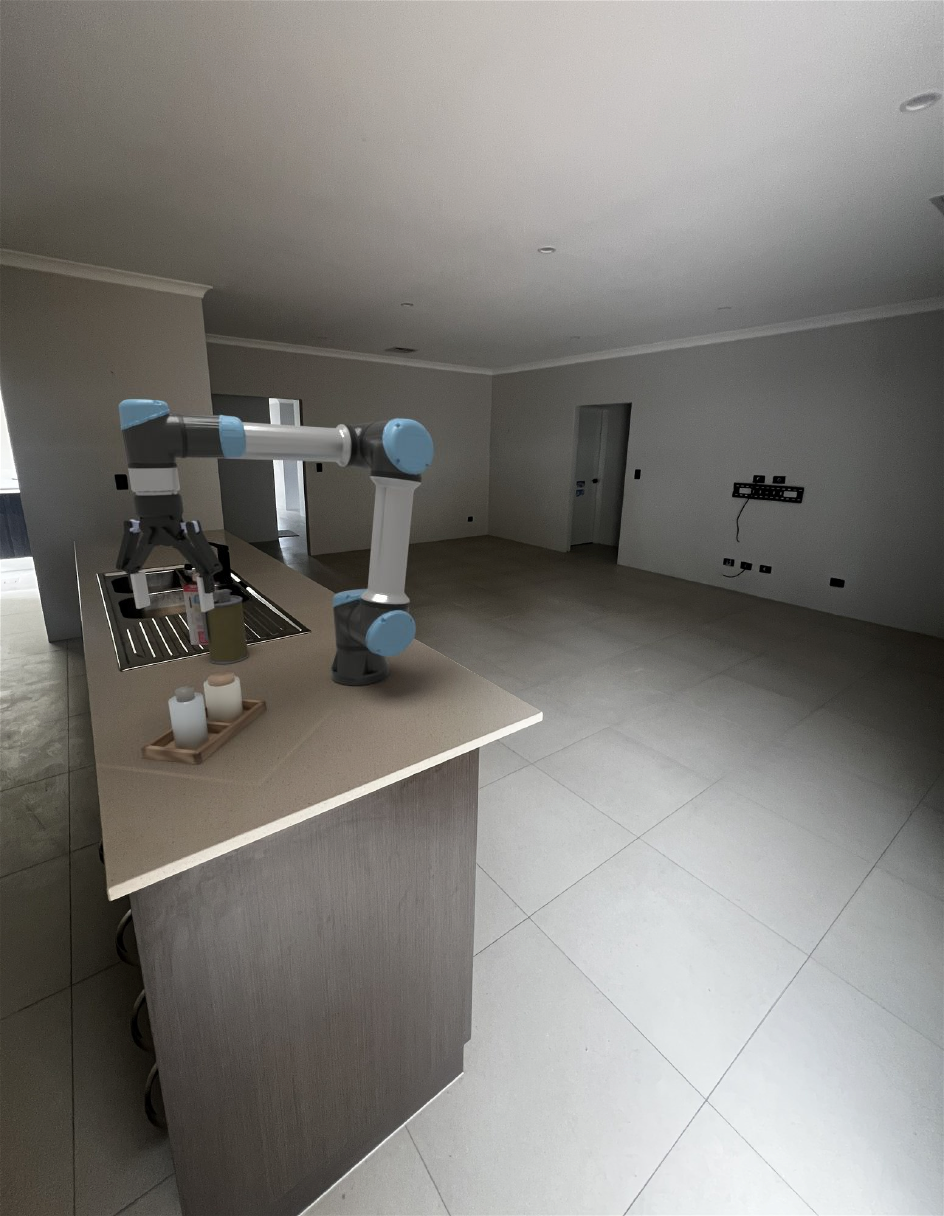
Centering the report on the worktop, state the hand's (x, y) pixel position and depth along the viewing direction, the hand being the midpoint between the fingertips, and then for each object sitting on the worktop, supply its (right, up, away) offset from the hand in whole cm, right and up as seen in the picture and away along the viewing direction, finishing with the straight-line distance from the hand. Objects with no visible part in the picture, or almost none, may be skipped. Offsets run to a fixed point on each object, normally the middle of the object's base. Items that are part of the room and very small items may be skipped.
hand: (175, 608), depth 101 cm
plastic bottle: (0, -27, +6) cm, 28 cm away
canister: (-15, -15, +55) cm, 58 cm away
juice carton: (-28, -11, +69) cm, 75 cm away
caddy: (+1, -27, +11) cm, 29 cm away
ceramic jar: (+2, -24, +16) cm, 29 cm away
